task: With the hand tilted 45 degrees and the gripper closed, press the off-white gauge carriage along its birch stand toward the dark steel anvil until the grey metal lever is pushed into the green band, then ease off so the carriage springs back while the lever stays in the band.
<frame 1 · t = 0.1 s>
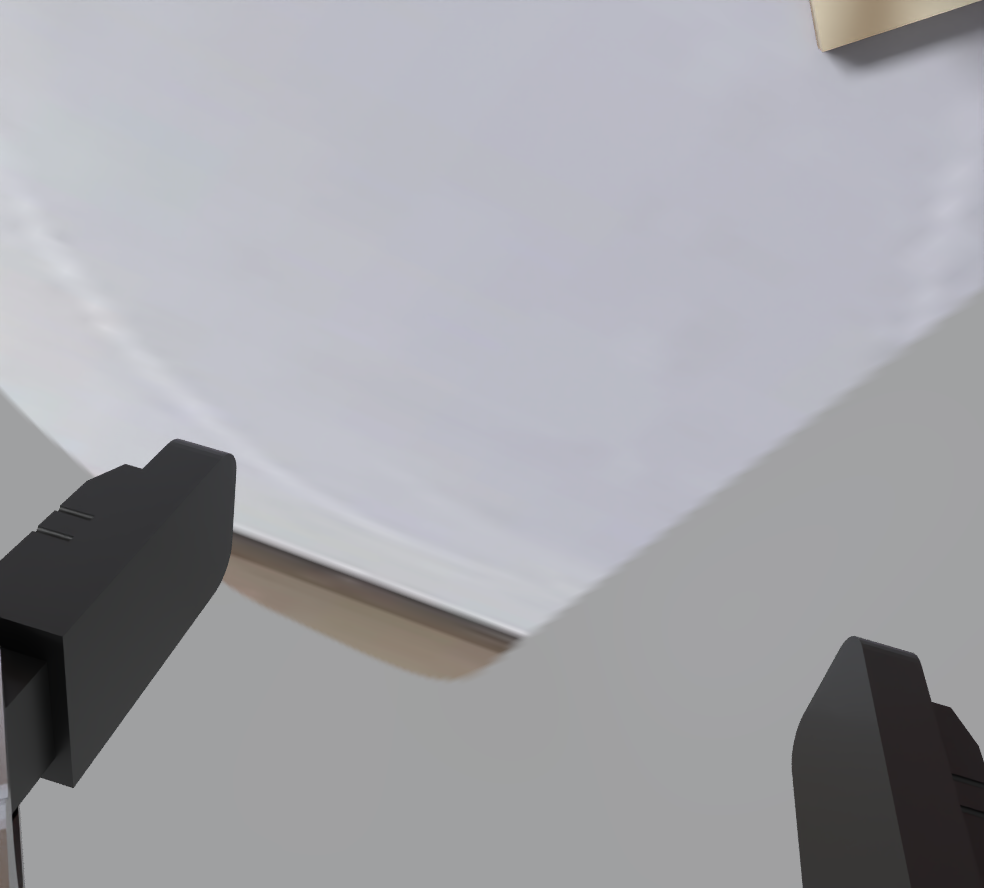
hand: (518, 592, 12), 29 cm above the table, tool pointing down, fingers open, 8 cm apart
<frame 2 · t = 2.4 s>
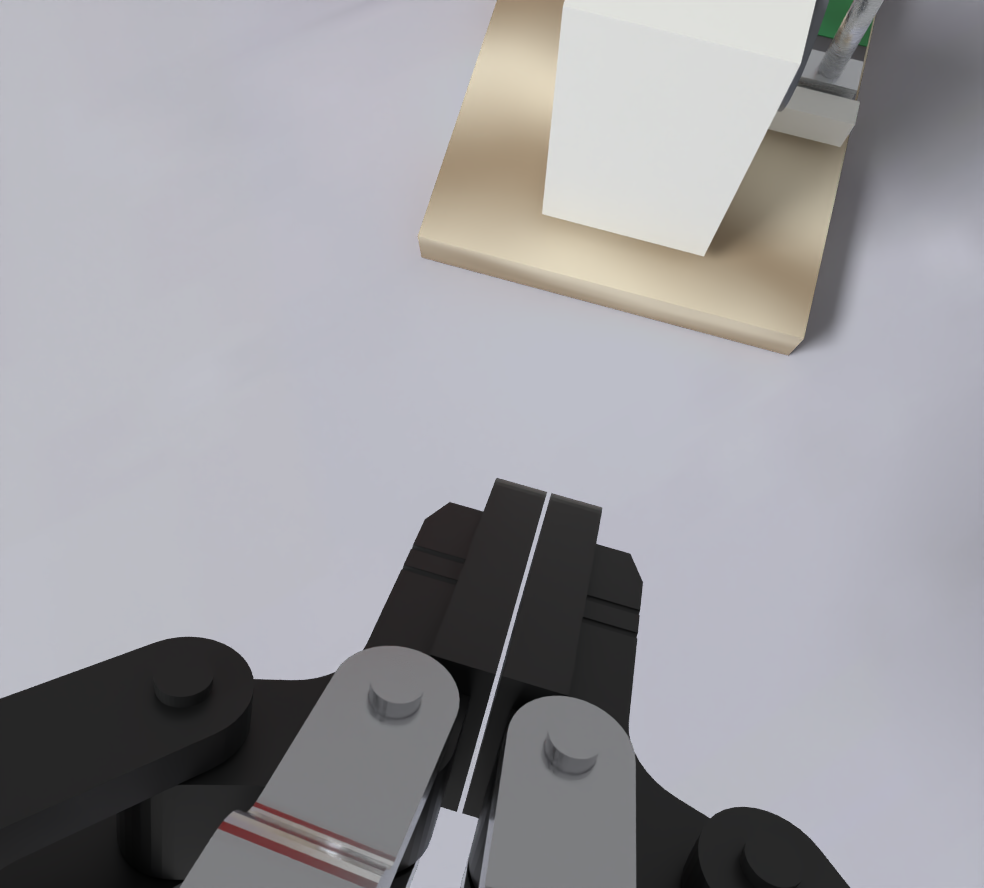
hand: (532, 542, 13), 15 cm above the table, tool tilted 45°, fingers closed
grey metal lever: (841, 48, 27), point 4 cm above the table, slide at 0.0 cm
gauge stand: (665, 79, 31), on the table
gauge carriage: (740, 44, 24), point 7 cm above the table, slide at 0.0 cm
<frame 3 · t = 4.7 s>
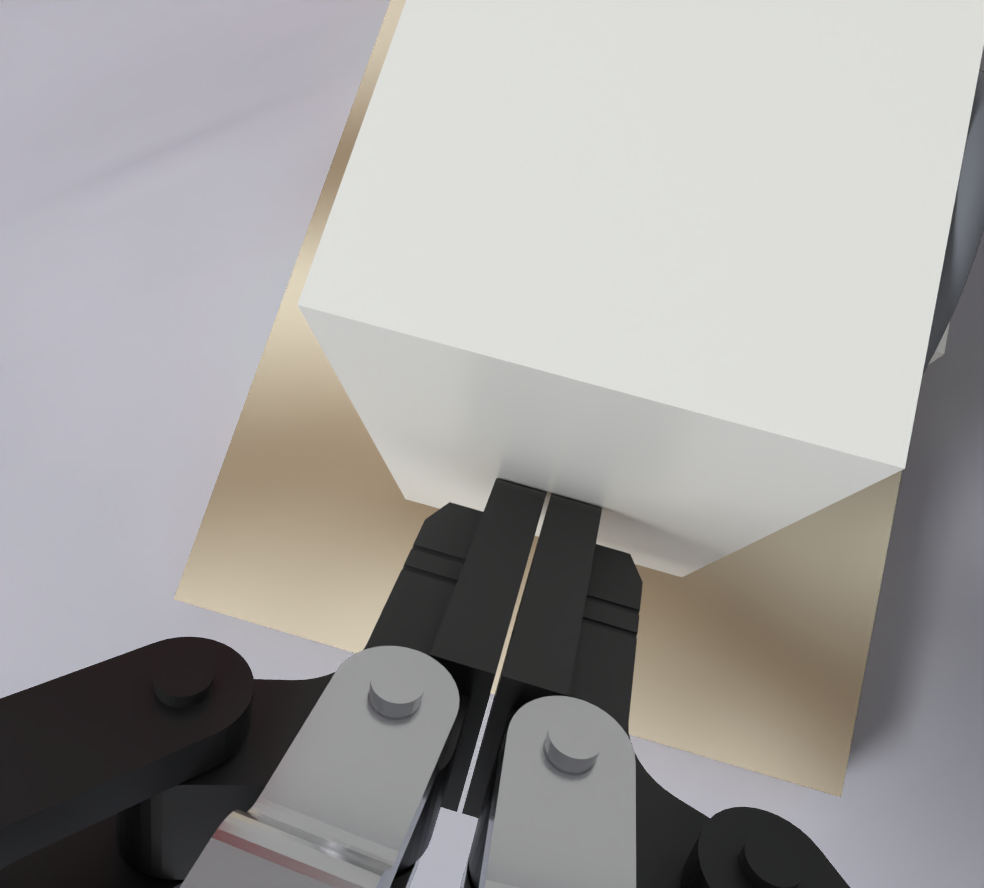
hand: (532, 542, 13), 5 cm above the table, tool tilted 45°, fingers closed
gauge stand: (609, 289, 19), on the table
gauge carriage: (744, 258, 12), point 7 cm above the table, slide at 1.3 cm, touching gripper, grey metal lever
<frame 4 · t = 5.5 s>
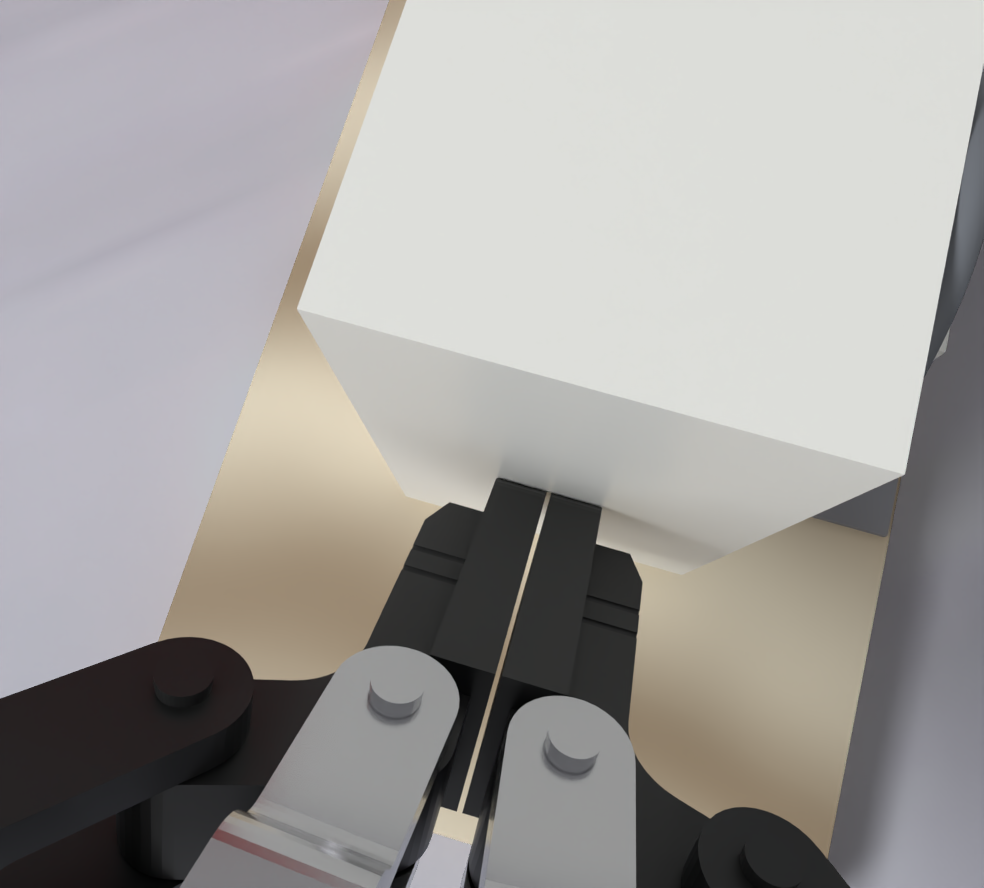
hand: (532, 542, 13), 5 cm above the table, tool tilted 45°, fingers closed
gauge stand: (580, 395, 19), on the table
gauge carriage: (746, 258, 12), point 6 cm above the table, slide at 3.8 cm, touching gripper, grey metal lever
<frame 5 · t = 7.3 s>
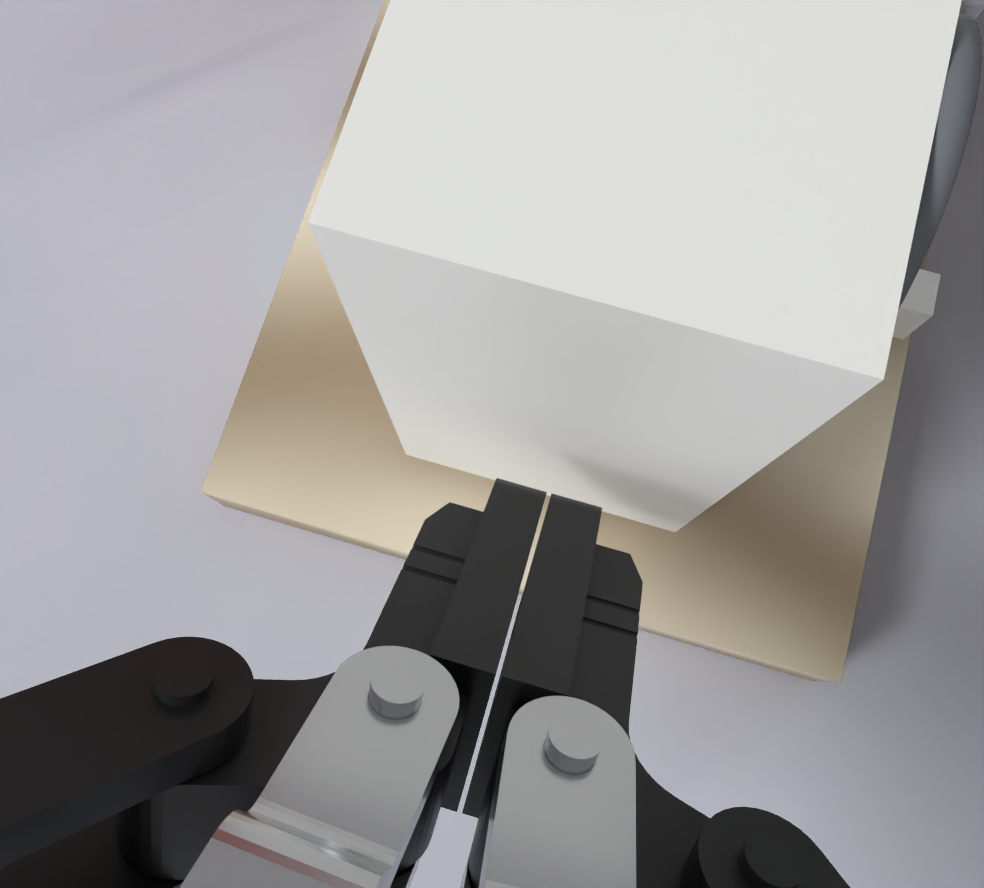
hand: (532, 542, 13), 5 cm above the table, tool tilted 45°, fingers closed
grey metal lever: (949, 20, 16), point 4 cm above the table, slide at 3.6 cm
gauge stand: (620, 210, 20), on the table
gauge carriage: (738, 211, 13), point 6 cm above the table, slide at 0.1 cm
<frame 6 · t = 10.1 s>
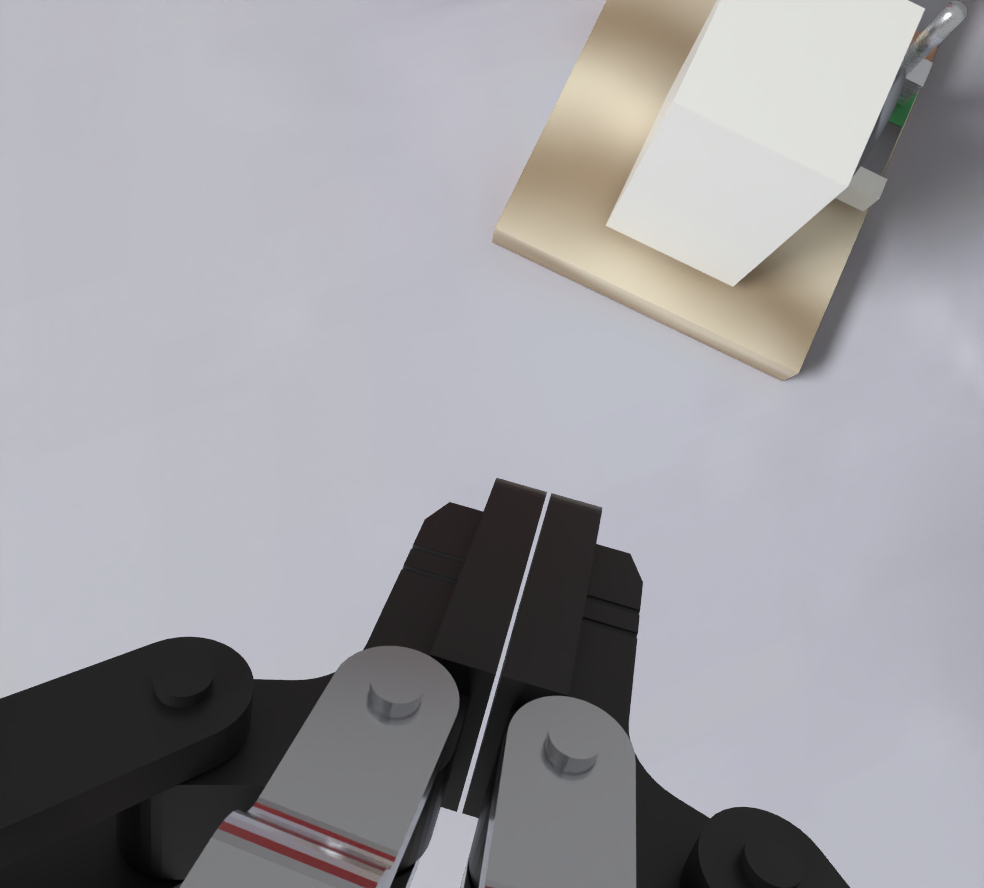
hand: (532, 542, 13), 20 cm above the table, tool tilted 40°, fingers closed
grey metal lever: (918, 49, 32), point 4 cm above the table, slide at 3.6 cm
gauge stand: (726, 118, 36), on the table
gauge carriage: (801, 127, 29), point 7 cm above the table, slide at 0.1 cm
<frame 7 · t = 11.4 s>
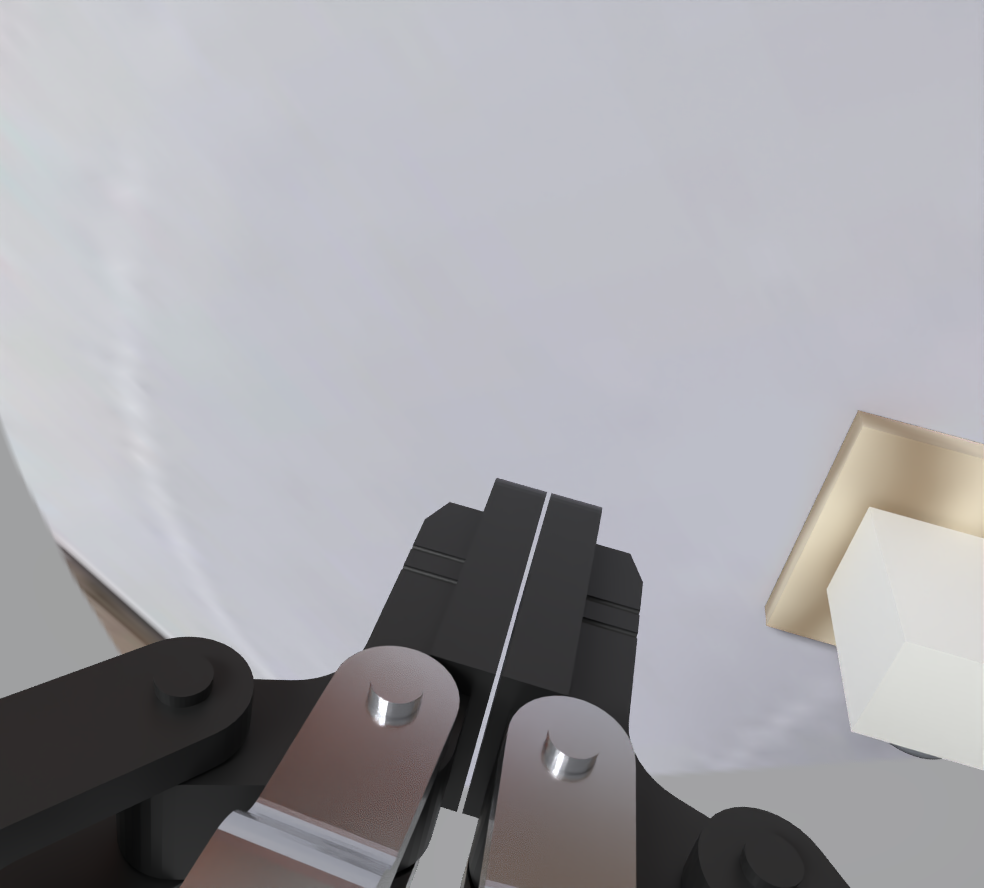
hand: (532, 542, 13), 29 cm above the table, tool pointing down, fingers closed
gauge stand: (983, 564, 44), on the table
gauge carriage: (932, 663, 40), point 6 cm above the table, slide at 0.1 cm
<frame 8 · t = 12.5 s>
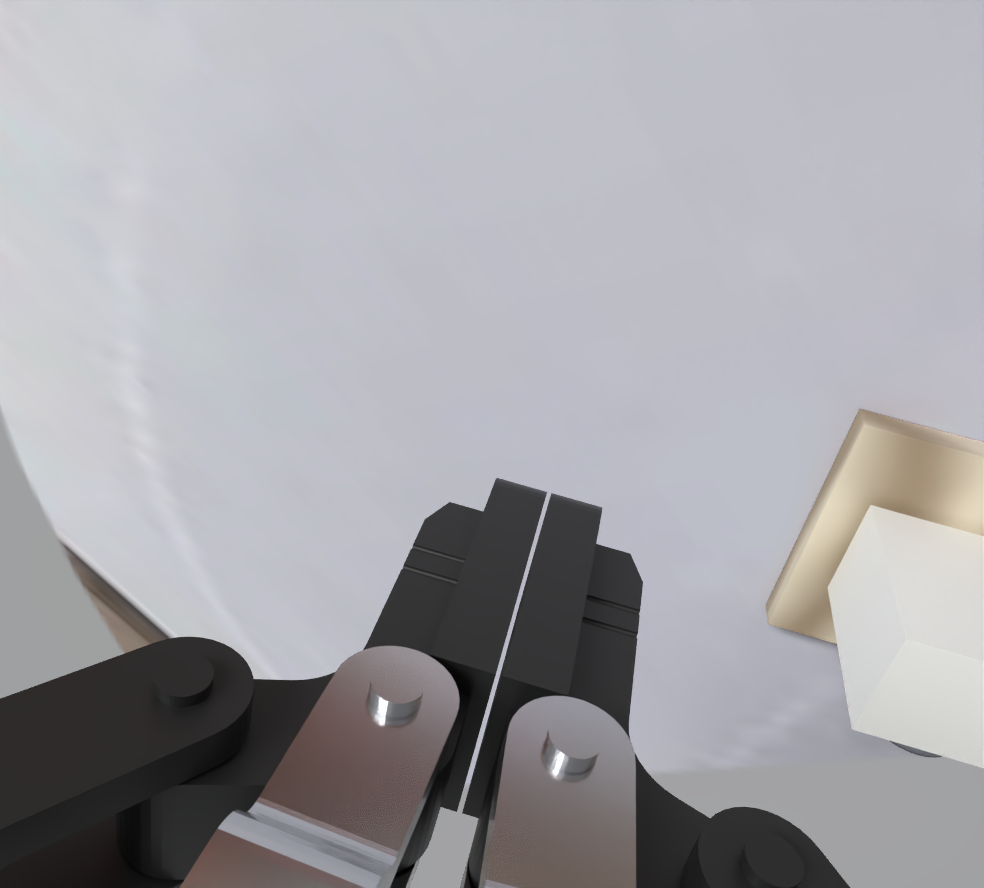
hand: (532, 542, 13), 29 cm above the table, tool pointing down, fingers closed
gauge carriage: (932, 661, 40), point 6 cm above the table, slide at 0.1 cm
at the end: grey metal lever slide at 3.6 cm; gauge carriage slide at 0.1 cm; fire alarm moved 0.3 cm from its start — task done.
